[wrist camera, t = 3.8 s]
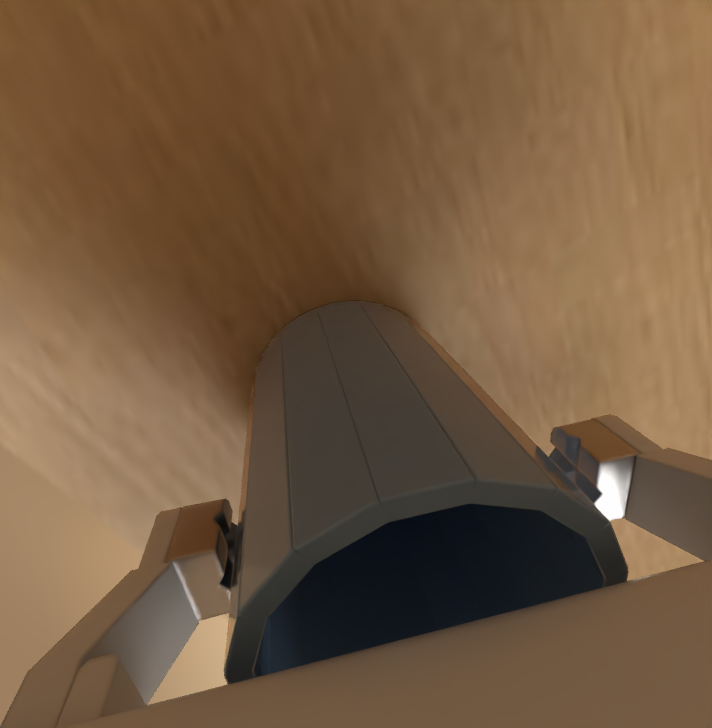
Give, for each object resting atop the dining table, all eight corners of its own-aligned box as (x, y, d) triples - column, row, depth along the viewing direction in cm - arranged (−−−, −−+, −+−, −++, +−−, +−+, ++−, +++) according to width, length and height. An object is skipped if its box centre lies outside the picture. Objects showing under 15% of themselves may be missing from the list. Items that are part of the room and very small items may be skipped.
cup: (274, 487, 16) (277, 802, 8) (230, 320, 13) (166, 548, 5) (444, 450, 17) (602, 706, 9) (436, 284, 14) (658, 437, 6)
